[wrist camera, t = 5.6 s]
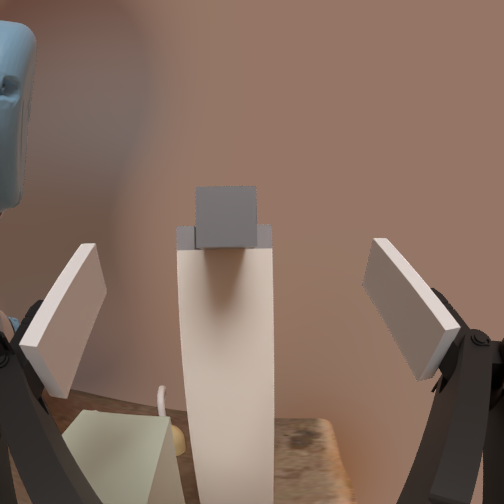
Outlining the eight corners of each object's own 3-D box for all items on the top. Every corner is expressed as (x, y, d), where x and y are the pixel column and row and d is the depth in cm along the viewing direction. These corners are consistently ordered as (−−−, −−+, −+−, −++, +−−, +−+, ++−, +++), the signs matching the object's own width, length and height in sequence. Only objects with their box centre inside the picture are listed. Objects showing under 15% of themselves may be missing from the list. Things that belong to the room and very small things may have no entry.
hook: (156, 440, 46) (147, 379, 46) (186, 440, 47) (179, 379, 47) (152, 459, 40) (141, 394, 40) (185, 459, 41) (177, 395, 41)
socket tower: (204, 526, 26) (176, 226, 26) (206, 463, 40) (191, 236, 40) (272, 522, 27) (271, 224, 27) (258, 461, 41) (253, 234, 41)
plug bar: (196, 247, 18) (195, 187, 18) (208, 251, 38) (207, 221, 38) (257, 246, 18) (255, 186, 18) (237, 250, 38) (237, 221, 38)
